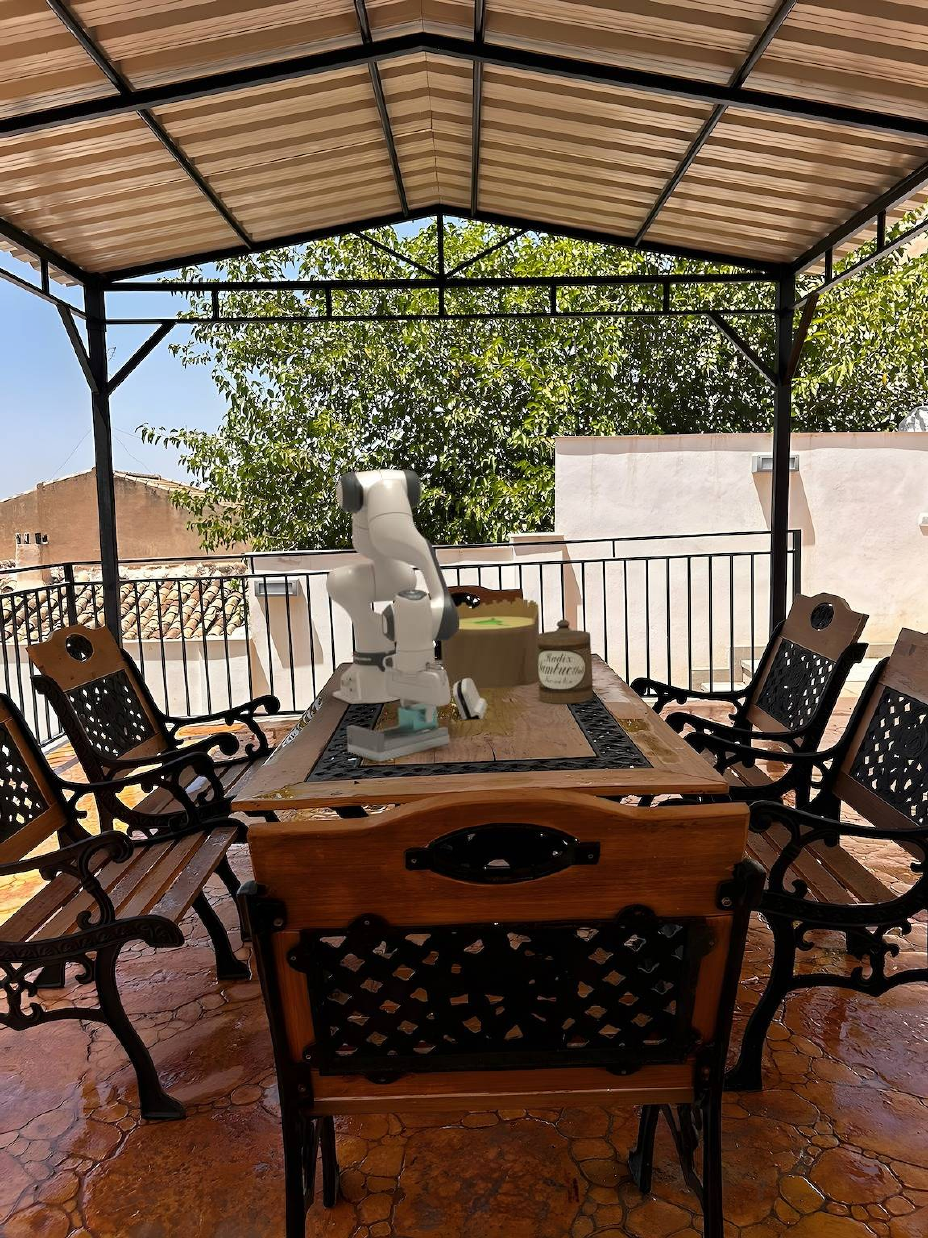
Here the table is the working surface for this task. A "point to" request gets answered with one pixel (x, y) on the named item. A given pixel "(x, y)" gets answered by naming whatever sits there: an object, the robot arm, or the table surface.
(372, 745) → the guide channel
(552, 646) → the wooden container
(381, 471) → the robot arm
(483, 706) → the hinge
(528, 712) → the table surface
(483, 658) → the brown wide cylinder
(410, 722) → the block
